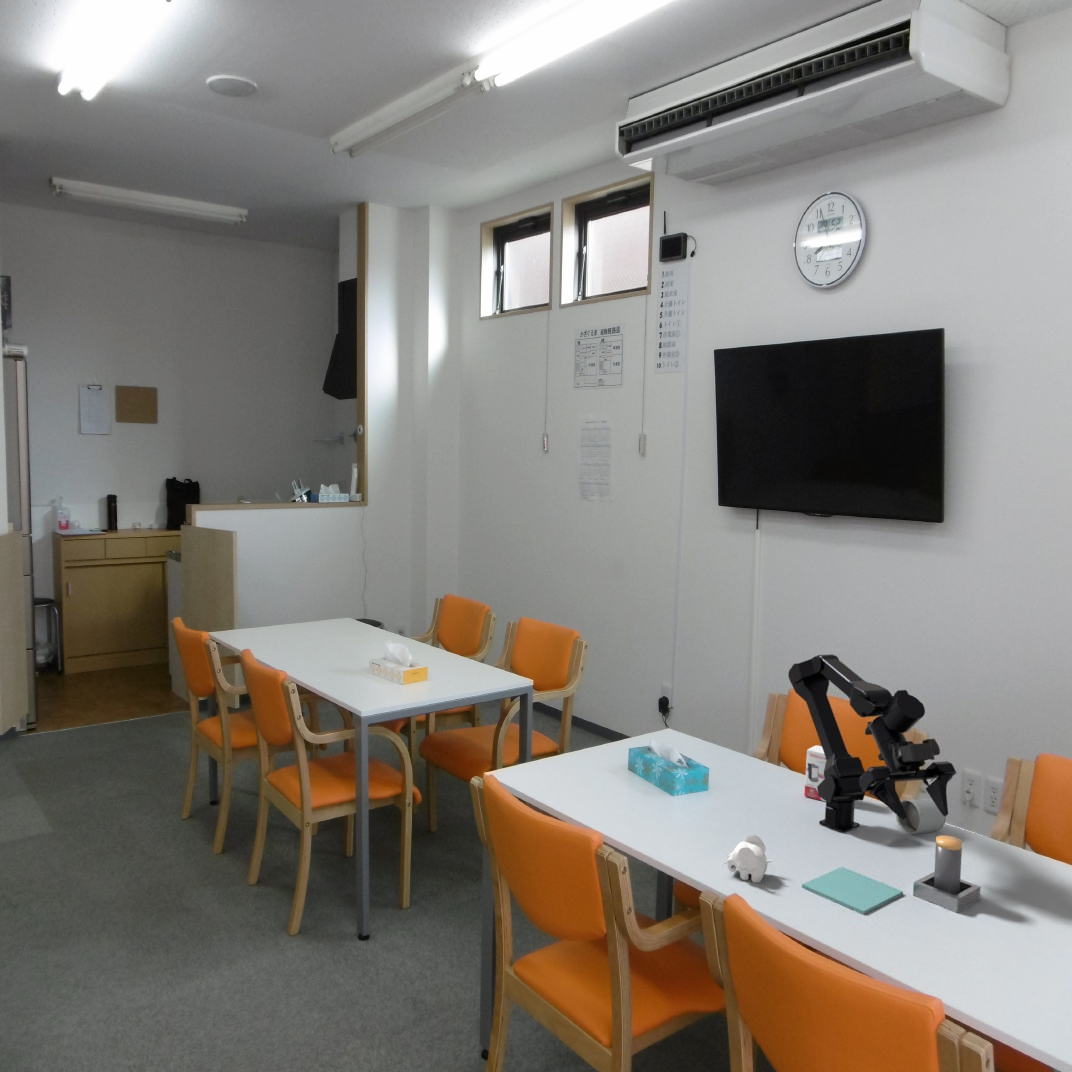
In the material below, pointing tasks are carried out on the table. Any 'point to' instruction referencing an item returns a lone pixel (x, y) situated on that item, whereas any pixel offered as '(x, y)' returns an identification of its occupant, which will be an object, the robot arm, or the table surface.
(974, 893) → the collar
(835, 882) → the teal mat
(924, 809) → the ceramic mug
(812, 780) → the ink box
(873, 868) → the table surface
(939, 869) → the grey orange domed cylinder
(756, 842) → the elephant figurine
